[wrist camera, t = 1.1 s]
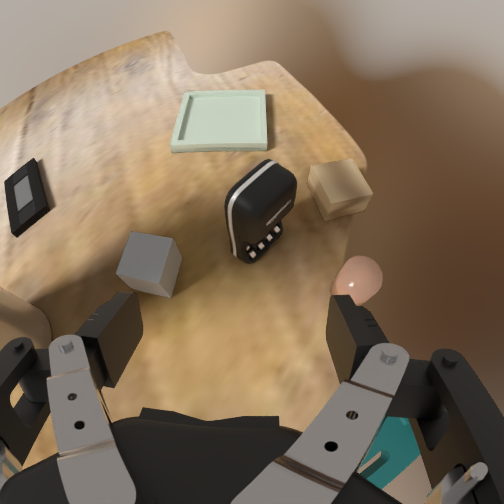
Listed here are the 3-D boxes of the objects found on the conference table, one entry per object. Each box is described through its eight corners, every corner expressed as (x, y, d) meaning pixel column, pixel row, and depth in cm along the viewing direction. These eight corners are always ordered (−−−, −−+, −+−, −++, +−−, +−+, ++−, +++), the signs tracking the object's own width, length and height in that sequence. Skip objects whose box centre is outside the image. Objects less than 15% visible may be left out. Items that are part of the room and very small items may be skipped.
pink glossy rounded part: (331, 310, 32) (344, 297, 28) (328, 273, 34) (340, 255, 29) (368, 309, 32) (385, 295, 28) (363, 273, 34) (379, 255, 29)
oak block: (324, 221, 37) (331, 203, 34) (306, 185, 40) (311, 165, 36) (363, 211, 38) (373, 193, 34) (344, 177, 40) (351, 158, 37)
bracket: (426, 369, 29) (466, 360, 22) (452, 406, 26) (493, 404, 19) (305, 473, 24) (322, 496, 17) (338, 510, 22) (361, 537, 15)
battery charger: (253, 274, 34) (254, 220, 24) (228, 253, 35) (219, 194, 25) (291, 233, 36) (306, 170, 26) (267, 215, 37) (273, 150, 27)
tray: (171, 152, 42) (169, 145, 41) (186, 99, 48) (184, 92, 47) (266, 151, 42) (267, 143, 41) (264, 97, 48) (264, 90, 47)
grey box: (132, 289, 33) (115, 273, 29) (144, 251, 35) (131, 231, 31) (171, 298, 33) (158, 283, 28) (182, 258, 35) (173, 238, 30)
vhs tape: (18, 239, 36) (11, 233, 35) (9, 187, 41) (4, 181, 40) (52, 212, 39) (45, 205, 37) (38, 164, 43) (33, 157, 42)
